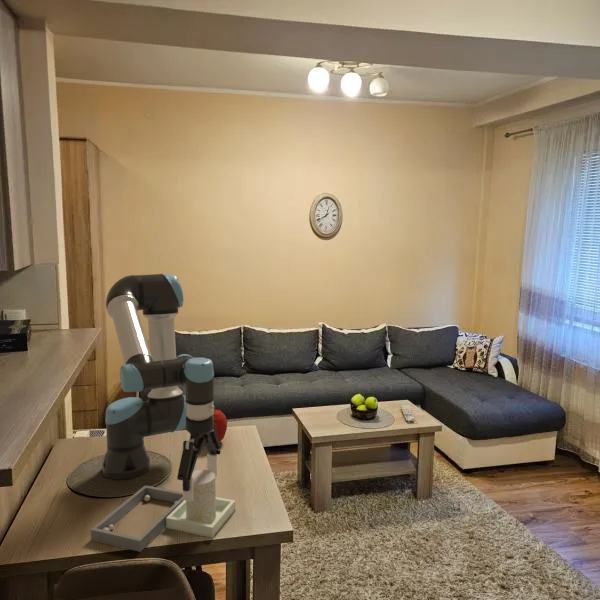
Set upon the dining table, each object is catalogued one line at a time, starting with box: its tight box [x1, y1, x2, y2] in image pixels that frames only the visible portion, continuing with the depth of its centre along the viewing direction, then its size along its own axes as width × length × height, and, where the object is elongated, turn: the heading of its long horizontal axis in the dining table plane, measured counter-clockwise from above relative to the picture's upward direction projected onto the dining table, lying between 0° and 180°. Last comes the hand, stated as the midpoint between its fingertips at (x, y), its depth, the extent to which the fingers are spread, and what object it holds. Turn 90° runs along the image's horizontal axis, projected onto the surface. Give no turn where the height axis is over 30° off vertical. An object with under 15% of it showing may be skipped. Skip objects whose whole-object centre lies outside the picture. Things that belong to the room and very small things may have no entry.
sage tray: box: [165, 496, 236, 539], centre depth 145 cm, size 14×14×3 cm
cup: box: [186, 469, 217, 524], centre depth 144 cm, size 8×8×12 cm
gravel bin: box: [90, 484, 184, 553], centre depth 144 cm, size 15×24×3 cm, turn 162°
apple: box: [213, 408, 228, 442], centre depth 193 cm, size 10×10×14 cm
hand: (200, 487), depth 144 cm, fingers open, 13 cm apart
